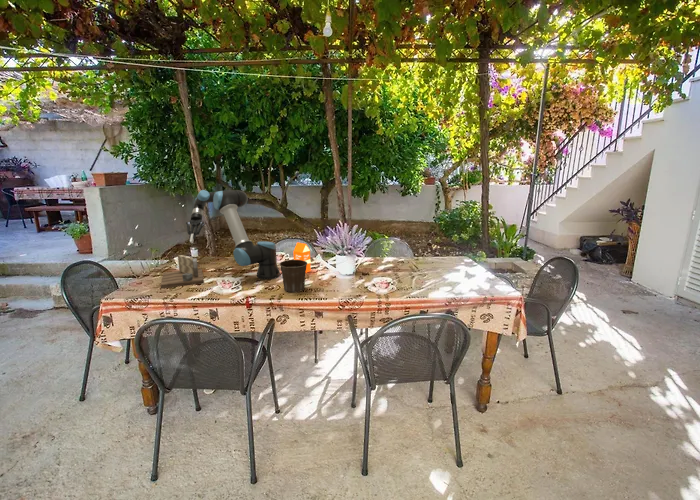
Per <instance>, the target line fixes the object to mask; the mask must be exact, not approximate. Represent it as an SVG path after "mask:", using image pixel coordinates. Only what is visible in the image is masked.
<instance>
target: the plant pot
mask: <svg viewBox="0 0 700 500" xmlns="http://www.w3.org/2000/svg"><path fill="white" fill-rule="evenodd" d="M279 266H280V267H279V268H280V271H281V276H282V283H283V290H284V291H285V292H287V293H299V292H301V291H304V290H305V285H306V284H305V282H306V273H307V272H306V266H307V262H306V261H303V260H294V259H289V260H283V261H280V263H279ZM305 272H306V273H305Z"/></svg>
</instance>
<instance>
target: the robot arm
mask: <svg viewBox="0 0 700 500" xmlns="http://www.w3.org/2000/svg"><path fill="white" fill-rule="evenodd" d="M248 200H249V199H248V195H247V193H246V192H245V191H243V190H240V189H239V190H238V189H236V190H235V189H233V190H220V191H218V190H217V191H211V192H209V190H208V191H207V190H206V189H201V190H200V191H199V192H198V194H197V197H195V199H194V201H193V208H192V212H191V217H190V220H189V221H188V222H185V224H186V230H187V234H188V235H189V242H190V244H194V240H195V239H196V237H197V236H199V235H200V233H201V231H202V229H203V228H204V226H205V222H203V214H204V211H205V207H206V204H207V203H213V208H214V209H215V210H217V211H218V210H219V212H220V214H221V215H223V217H224V218H225V221H226V224H227V226H228V229H229V231H230V234H231V236H232V239H233V242H234V244H235V247H234V250H233V251H232V252H233V253H232V254H233V259H234V260H235V261H234V262H236V264H238V266H241V267H244V266H245V267H246V266H251V265H255V264H258V267H257V272H256V278H257V279H260V280H274V279H278V278H279V277H280V276H281V272H280V271H281V270H280V269H279V267H278V262H277V246H276V243H275V242H272V241H264V240H263V241H262V240H261V241H257V243H256V244H254V243H253V241H252V240H250V239H249V237H248V235H247V232H246V229H245V227H244V225H243V222H242V220H241V218H240V215H239V212H238V208H242V207H244V206H245V205H247V203H248Z"/></svg>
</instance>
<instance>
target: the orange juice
mask: <svg viewBox="0 0 700 500" xmlns="http://www.w3.org/2000/svg"><path fill="white" fill-rule="evenodd" d="M292 251H293V254H292V255H293V260H303V261H306V262H307V266H306V272H305V274H307V273H308V272H311V271H312V270H311V269H312V267H311V263H312V262H311V250H310V248H309V246H308V245H307V243H303V242H296V245H295V247H294V250H292Z"/></svg>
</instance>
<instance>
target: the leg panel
mask: <svg viewBox="0 0 700 500" xmlns="http://www.w3.org/2000/svg"><path fill="white" fill-rule="evenodd" d="M193 258H194V257H190V256H186V255H184V254H183V255H182V254H177V261H178V263H177V264H178V269H179V270H178V271H180V272H183V273H192V275H193V276H194V268H193Z"/></svg>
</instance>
